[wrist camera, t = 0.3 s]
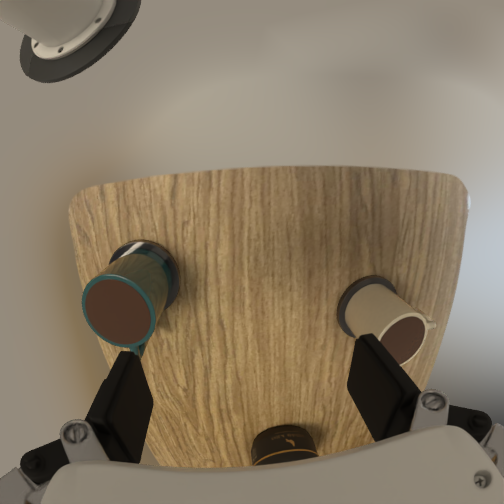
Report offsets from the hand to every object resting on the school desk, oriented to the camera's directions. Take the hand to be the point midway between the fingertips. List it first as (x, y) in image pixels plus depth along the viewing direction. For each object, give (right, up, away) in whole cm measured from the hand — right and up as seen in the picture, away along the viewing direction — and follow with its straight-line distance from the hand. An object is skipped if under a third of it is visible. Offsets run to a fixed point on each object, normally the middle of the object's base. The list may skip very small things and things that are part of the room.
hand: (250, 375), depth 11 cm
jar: (+5, -25, +26) cm, 36 cm away
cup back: (+15, -2, +19) cm, 25 cm away
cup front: (-11, +1, +16) cm, 20 cm away
